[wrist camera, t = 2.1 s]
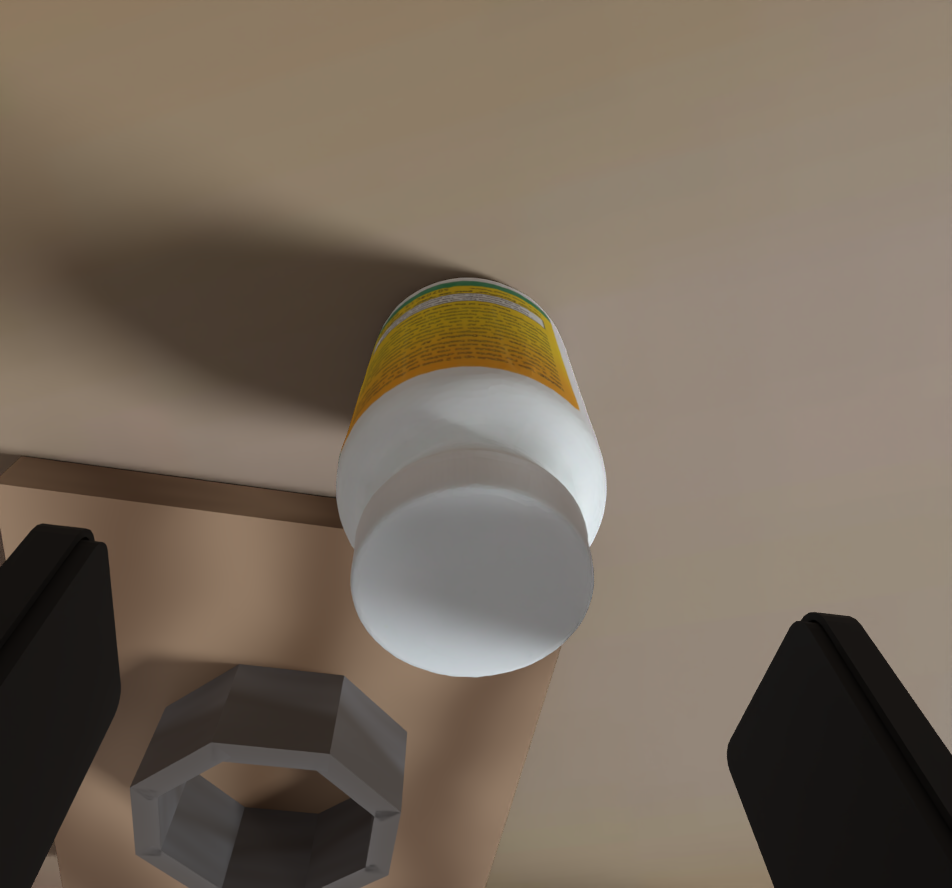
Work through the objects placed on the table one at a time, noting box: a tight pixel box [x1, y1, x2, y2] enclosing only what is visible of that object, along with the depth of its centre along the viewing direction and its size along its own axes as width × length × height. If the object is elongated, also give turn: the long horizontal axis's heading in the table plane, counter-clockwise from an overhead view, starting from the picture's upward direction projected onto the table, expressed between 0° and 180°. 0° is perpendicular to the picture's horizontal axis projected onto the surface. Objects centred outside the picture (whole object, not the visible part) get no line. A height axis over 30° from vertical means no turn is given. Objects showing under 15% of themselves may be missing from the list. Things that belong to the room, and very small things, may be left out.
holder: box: [0, 456, 562, 888], centre depth 25 cm, size 17×20×4 cm
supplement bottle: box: [336, 278, 607, 677], centre depth 16 cm, size 5×5×10 cm
